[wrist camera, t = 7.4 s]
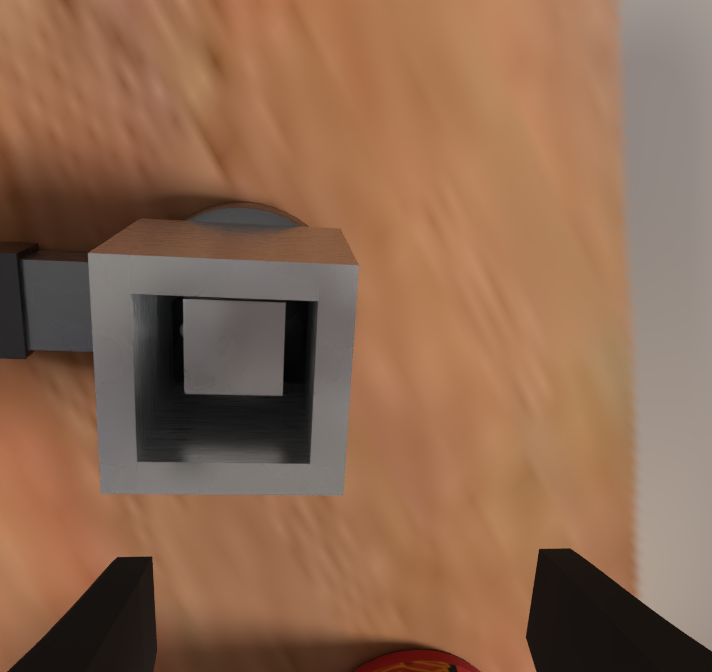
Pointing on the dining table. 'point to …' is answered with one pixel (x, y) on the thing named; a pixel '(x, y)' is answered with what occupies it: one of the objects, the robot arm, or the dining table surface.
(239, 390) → the ratchet
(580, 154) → the dining table surface
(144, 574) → the robot arm
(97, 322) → the socket
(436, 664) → the canned food
